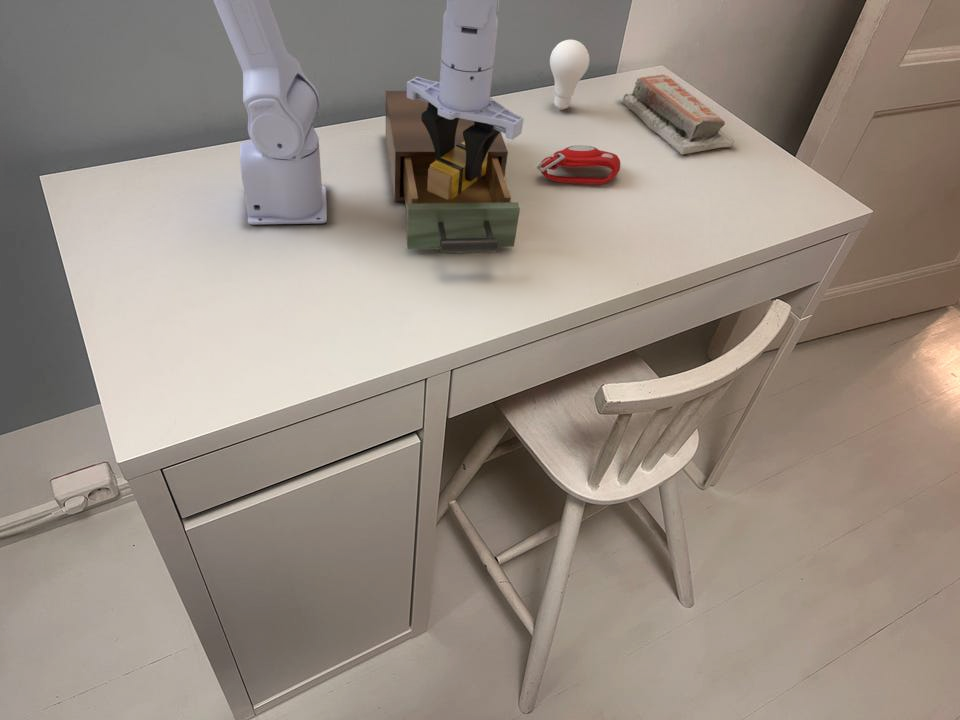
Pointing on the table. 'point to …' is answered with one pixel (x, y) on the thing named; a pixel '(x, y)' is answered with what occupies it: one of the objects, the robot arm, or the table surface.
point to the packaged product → (676, 115)
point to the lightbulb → (567, 69)
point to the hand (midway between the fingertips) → (458, 171)
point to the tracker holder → (580, 163)
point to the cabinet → (419, 136)
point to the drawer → (458, 211)
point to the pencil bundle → (451, 173)
